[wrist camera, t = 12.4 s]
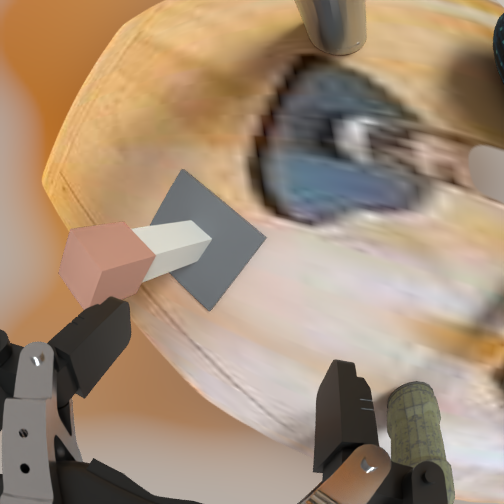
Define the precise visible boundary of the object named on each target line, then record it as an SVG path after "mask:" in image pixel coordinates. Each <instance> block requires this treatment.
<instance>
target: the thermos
mask: <svg viewBox="0 0 504 504" xmlns="http://www.w3.org/2000/svg"><path fill="white" fill-rule="evenodd" d="M387 408H388V411H387V432H388V435H389V437H390V439H391V461H393V462H395V463H399V464H402V465H406V466H409V467H413V468H414V467H415V466H416V465H418V464H419V463H421V462H423V461H431V462H434V463H436V464H438V465H439V466H440V467H441V469H442V470H443V472H444V476H445V483H446V490H447V499H448V504H453V503H454V499H455V491H454V483H453V476H452V469H451V465H450V464H449V463H448V462H447V461H446V455H445V450H444V444H443V439H442V434H441V430H440V425H439V424H440V420H441V415H440V411H439V407H438V403H437V400H436V397H435V396H434V393H433V389H432V388H431V387H430V385H428V384H426V383H424V382H418V381H416V382H410V383H407V384H404V385H402V386H401V387H399V388H398V389H396V390H395V391H394V392H393V393H392V394H391V396H390V398H389V400H388V406H387Z"/></svg>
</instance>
